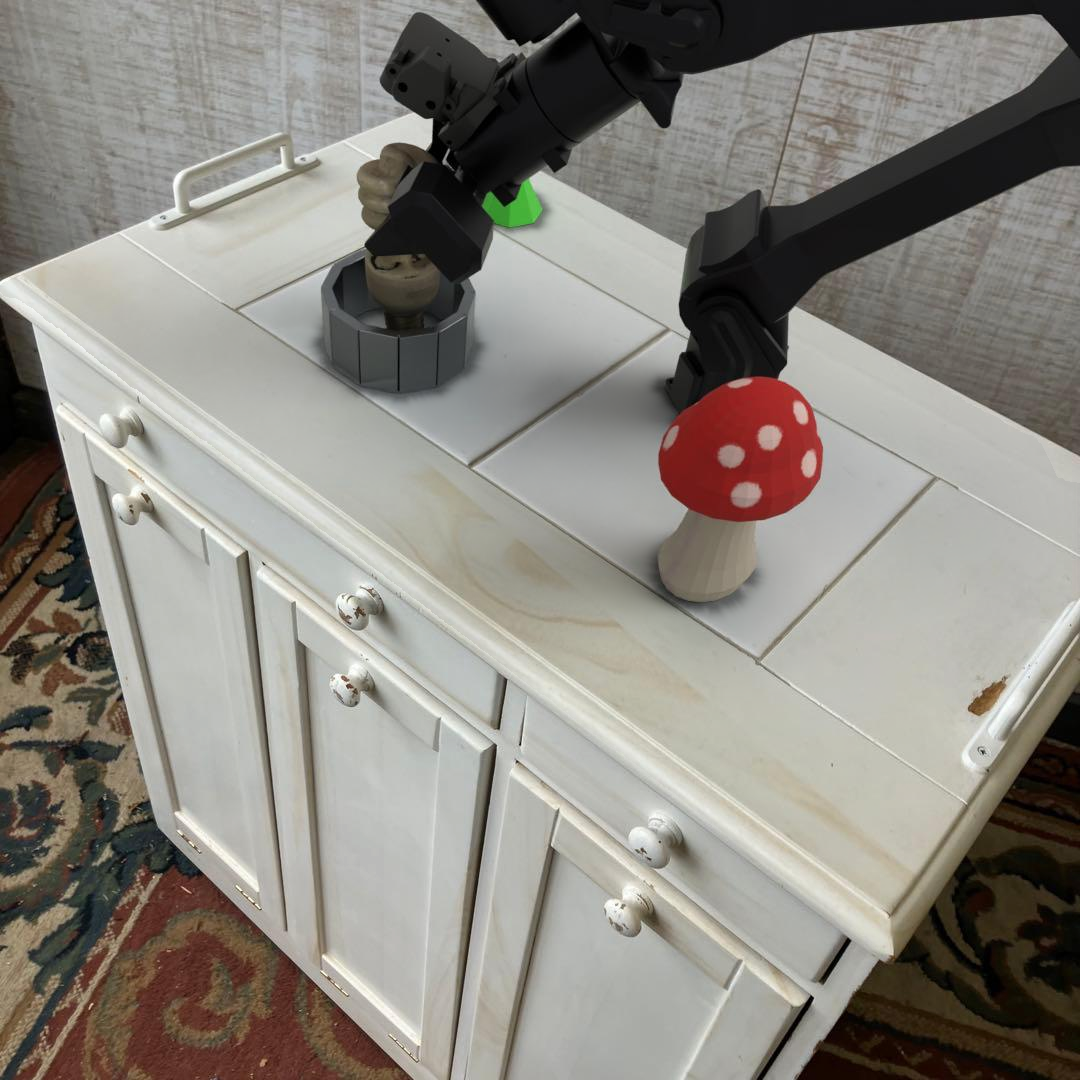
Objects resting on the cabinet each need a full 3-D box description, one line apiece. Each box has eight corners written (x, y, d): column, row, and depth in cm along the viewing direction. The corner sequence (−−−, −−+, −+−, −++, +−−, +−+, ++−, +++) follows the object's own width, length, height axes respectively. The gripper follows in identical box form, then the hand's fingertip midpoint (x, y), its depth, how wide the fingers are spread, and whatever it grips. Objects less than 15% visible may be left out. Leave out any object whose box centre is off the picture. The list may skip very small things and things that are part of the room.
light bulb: (402, 373, 78) (401, 184, 67) (347, 339, 80) (337, 150, 69) (454, 338, 81) (461, 151, 70) (399, 306, 83) (398, 119, 72)
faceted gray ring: (447, 293, 86) (449, 238, 82) (488, 380, 79) (493, 325, 76) (312, 311, 83) (308, 255, 79) (344, 402, 76) (341, 346, 72)
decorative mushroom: (719, 500, 74) (777, 320, 62) (805, 586, 69) (885, 410, 58) (601, 554, 69) (640, 373, 58) (686, 651, 65) (746, 474, 54)
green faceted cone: (543, 229, 93) (551, 165, 88) (473, 225, 92) (477, 160, 88) (541, 191, 97) (548, 128, 92) (473, 186, 96) (477, 123, 92)
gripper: (501, -76, 67) (336, 69, 76) (426, 55, 55) (240, 211, 64) (609, 71, 73) (443, 191, 81) (563, 220, 60) (374, 342, 69)
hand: (380, 227), depth 74 cm, fingers closed on light bulb, 5 cm apart
